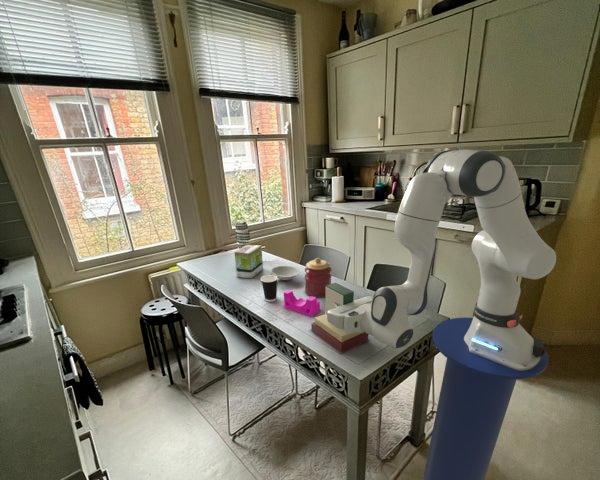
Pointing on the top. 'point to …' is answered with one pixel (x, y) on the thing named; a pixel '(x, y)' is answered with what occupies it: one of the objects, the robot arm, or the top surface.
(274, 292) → the dixie cup
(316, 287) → the kitchen canister
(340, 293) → the book
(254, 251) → the tea box
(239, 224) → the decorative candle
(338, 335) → the book stack
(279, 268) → the dish
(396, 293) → the robot arm
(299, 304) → the toy block
